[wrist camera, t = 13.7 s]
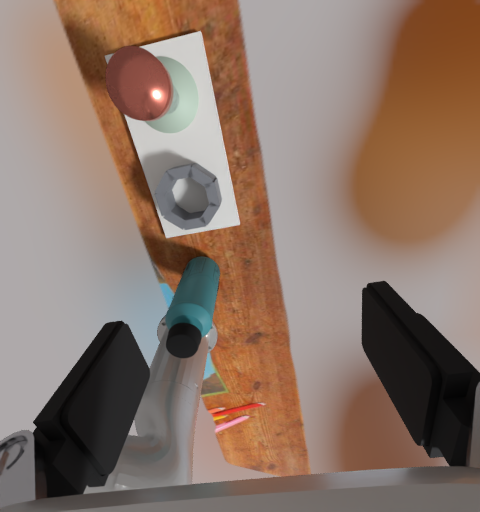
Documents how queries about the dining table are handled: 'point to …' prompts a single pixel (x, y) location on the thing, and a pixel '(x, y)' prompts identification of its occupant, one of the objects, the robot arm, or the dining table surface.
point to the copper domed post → (140, 84)
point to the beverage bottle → (192, 307)
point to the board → (186, 146)
